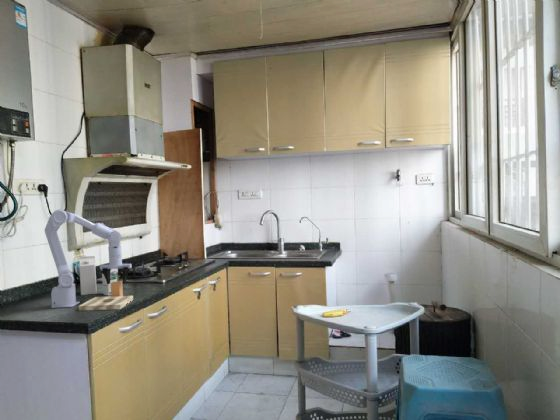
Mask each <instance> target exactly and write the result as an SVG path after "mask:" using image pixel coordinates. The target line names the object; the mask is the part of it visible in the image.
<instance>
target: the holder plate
mask: <svg viewBox="0 0 560 420" xmlns="http://www.w3.org/2000/svg"><path fill="white" fill-rule="evenodd" d="M133 300H134V295H123V296H111V295H110V296H94V297H93V298H92V297H91V299H89V300H87V301H85V302H84V303H82V304H80V305H78V312H82V311H85V312H86V311H104V310H106V311H107V310H108V311H109V310H121V309H123V308H124V307H126V306H127V305H128V304H130V303H131V302H133ZM130 301H131V302H130ZM127 303H128V304H127ZM126 304H127V305H126Z"/></svg>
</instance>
